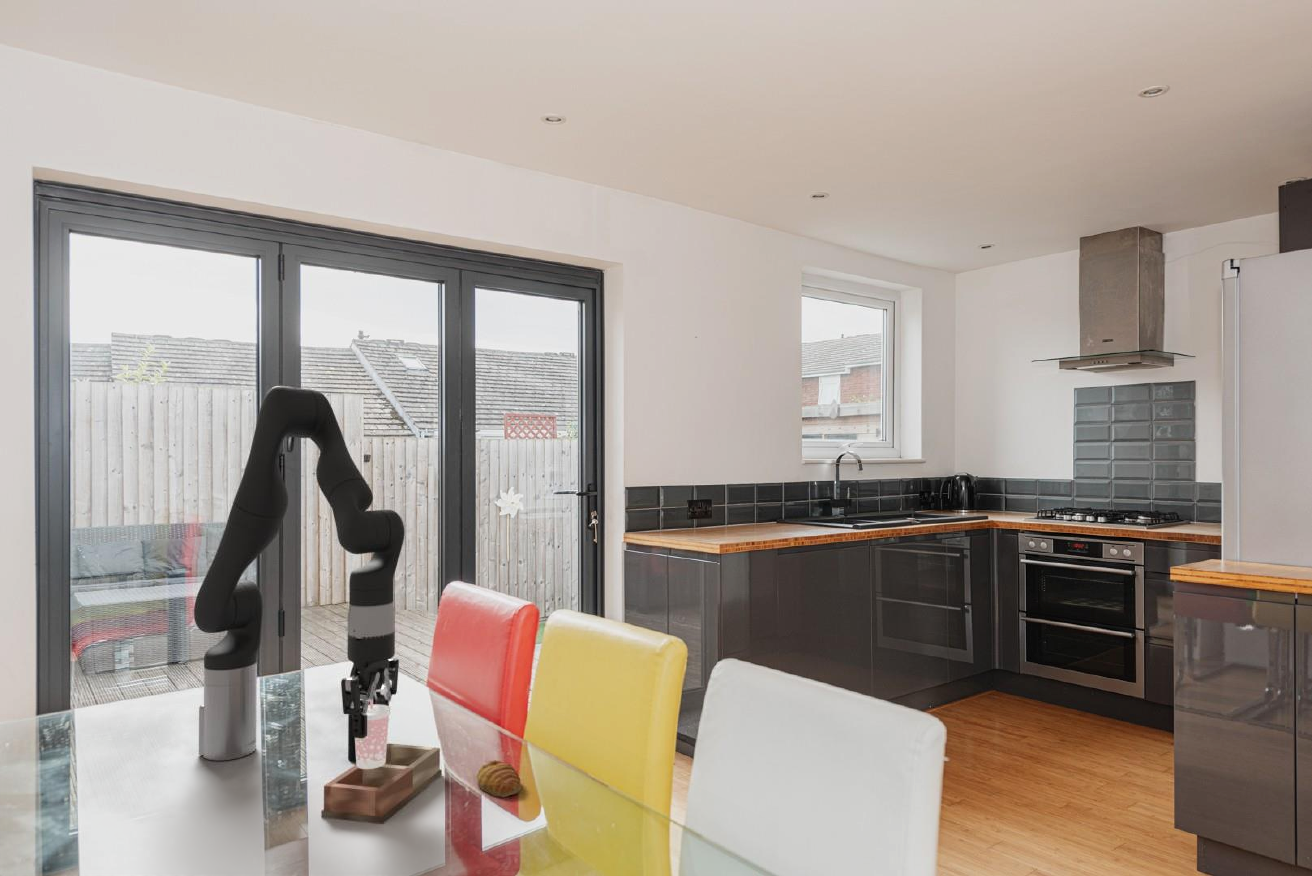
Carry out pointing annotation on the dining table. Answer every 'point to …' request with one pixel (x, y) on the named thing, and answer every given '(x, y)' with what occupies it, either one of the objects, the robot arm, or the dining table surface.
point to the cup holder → (382, 785)
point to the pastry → (498, 779)
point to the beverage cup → (373, 738)
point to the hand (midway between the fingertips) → (371, 730)
